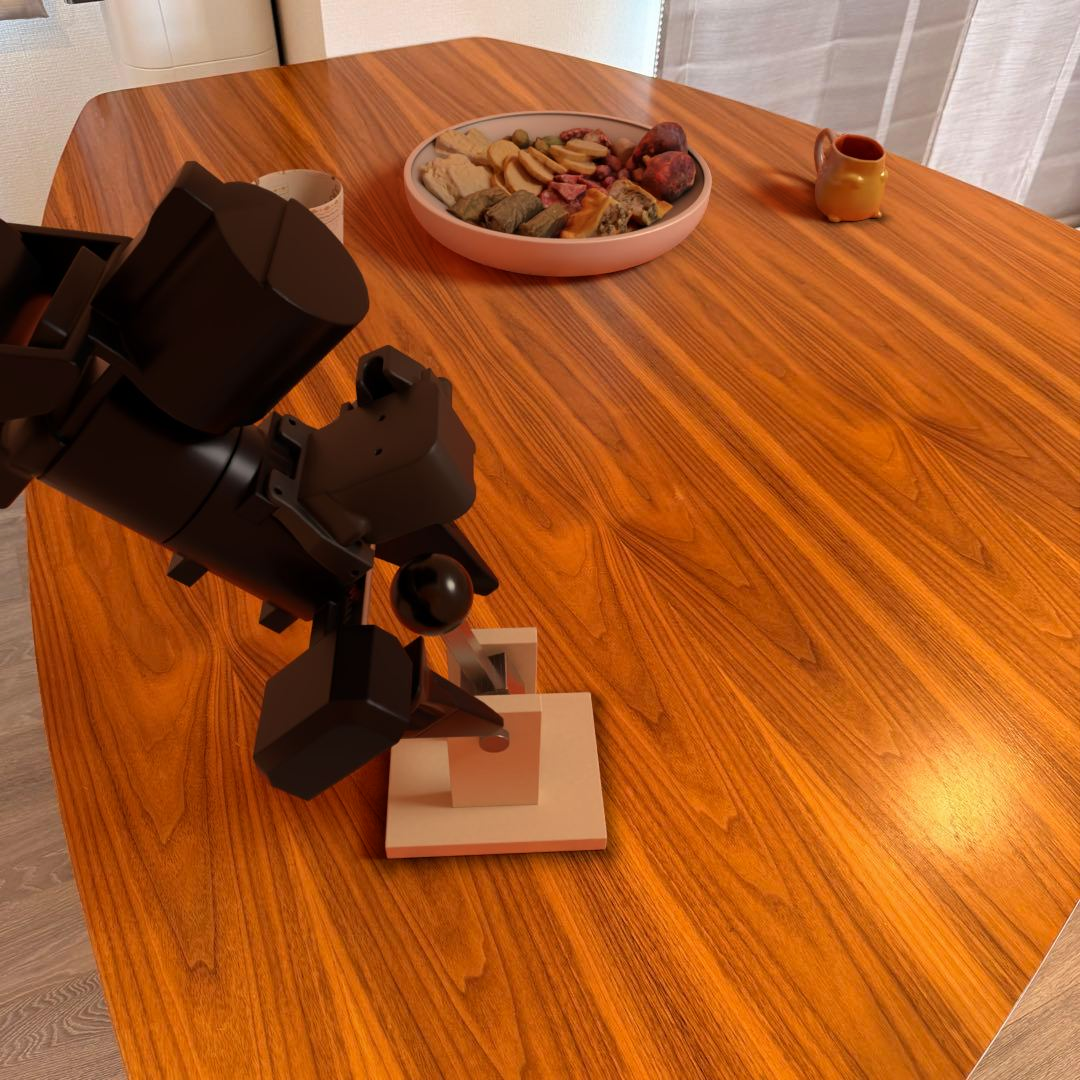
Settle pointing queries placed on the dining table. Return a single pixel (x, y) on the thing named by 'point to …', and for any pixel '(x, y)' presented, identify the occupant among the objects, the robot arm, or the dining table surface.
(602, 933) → the dining table surface
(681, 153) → the bowl
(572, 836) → the bracket
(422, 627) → the lever
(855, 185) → the mug
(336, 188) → the mug
